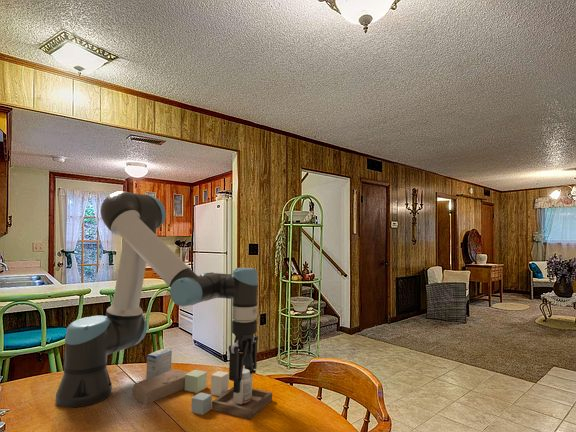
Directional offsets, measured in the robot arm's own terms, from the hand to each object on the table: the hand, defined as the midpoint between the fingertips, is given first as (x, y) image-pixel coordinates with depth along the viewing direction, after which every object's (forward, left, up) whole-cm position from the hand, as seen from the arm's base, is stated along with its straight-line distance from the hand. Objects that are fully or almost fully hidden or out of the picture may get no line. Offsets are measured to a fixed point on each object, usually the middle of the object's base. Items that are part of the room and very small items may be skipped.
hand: (242, 399), depth 107 cm
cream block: (-11, +4, -2) cm, 12 cm away
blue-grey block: (-9, -8, -2) cm, 12 cm away
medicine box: (-38, +6, -2) cm, 38 cm away
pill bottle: (0, 0, -1) cm, 1 cm away
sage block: (-20, +4, -2) cm, 20 cm away
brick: (-28, -3, -2) cm, 28 cm away
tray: (0, 0, -2) cm, 2 cm away
